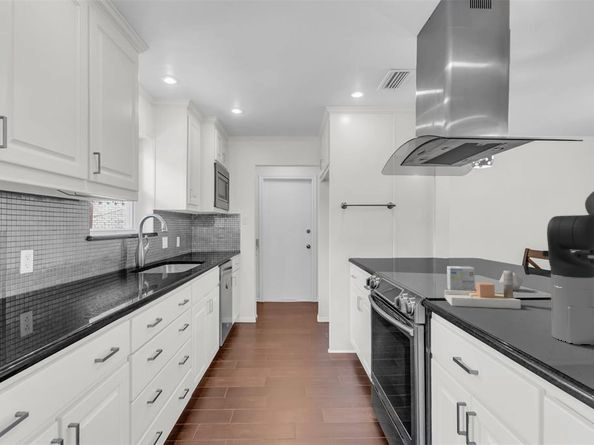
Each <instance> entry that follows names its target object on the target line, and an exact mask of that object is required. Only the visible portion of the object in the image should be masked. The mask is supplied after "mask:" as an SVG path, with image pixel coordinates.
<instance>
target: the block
mask: <svg viewBox="0 0 594 445" xmlns="http://www.w3.org/2000/svg"><path fill="white" fill-rule="evenodd" d="M475 291H476V295H478V296H479V297H482V298H495V292H496V289H495V284H493V283H492V282H485V281H483V282H482V281H475Z"/></svg>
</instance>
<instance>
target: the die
mask: <svg viewBox="0 0 594 445" xmlns="http://www.w3.org/2000/svg"><path fill="white" fill-rule="evenodd" d="M523 282H524V280H523V279H522V278H521V277H520V276H519V275H518V274H517V273H515V272H513V290H514V291H519V290H520V288H521V285H522V284H523ZM498 283H499V284H500V285H501V287H503V288H504V274H503V273H502V274H501V277H500V279H499V282H498Z"/></svg>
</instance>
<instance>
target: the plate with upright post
mask: <svg viewBox="0 0 594 445" xmlns="http://www.w3.org/2000/svg"><path fill="white" fill-rule="evenodd" d="M513 273H514V272H513V270H509V269H508V270H503V272H502V274H504V287H503V292H504V294H495V298H492V299H516V298H515V297H514V291H513ZM469 296H470V297H472V298H482V297H479V296H478V295H476V293H469Z"/></svg>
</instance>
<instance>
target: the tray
mask: <svg viewBox="0 0 594 445" xmlns="http://www.w3.org/2000/svg"><path fill="white" fill-rule="evenodd" d="M469 293H476V290H475V291H457V290H449V289H445V290H444V299H445V300H446V301H447V302H448V303H449V304H450V305H451V306H452V307H466V308H467V307H471V308H472V307H473V308H491V309H492V308H494V309H495V308H497V309H515V310H516V309H519V310H520V309H522V302H521V299H517V298H515V299H492V298H472V297H470V296H469ZM495 294H504V291H495Z"/></svg>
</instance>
